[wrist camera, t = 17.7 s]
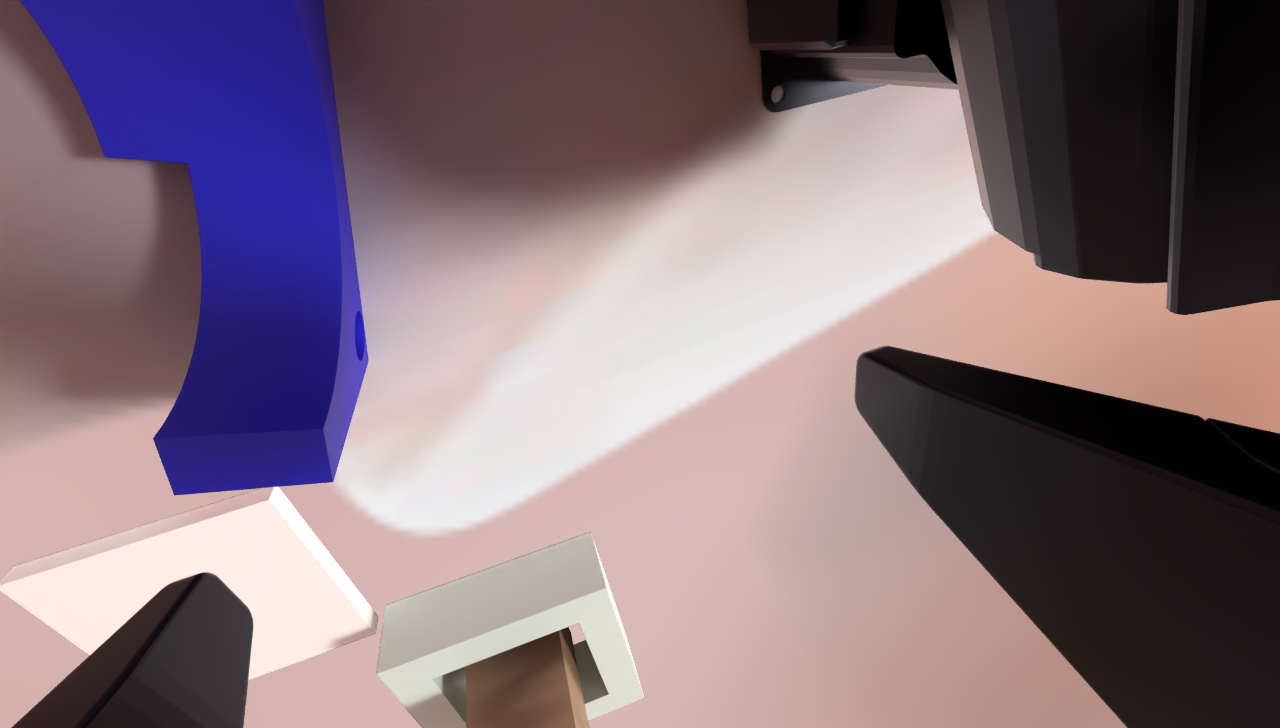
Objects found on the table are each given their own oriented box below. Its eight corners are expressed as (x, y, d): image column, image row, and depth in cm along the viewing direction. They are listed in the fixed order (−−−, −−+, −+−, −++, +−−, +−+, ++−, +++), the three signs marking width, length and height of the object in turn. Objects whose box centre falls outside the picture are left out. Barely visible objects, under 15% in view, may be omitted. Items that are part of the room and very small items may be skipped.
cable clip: (40, -186, 10) (-355, -411, 5) (308, -126, 12) (195, -259, 7) (201, 361, 16) (84, 502, 11) (369, 358, 17) (333, 481, 12)
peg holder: (590, 531, 24) (606, 587, 21) (627, 641, 29) (644, 697, 26) (385, 605, 22) (376, 674, 20) (461, 707, 27) (461, 773, 25)
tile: (275, 483, 18) (268, 499, 18) (378, 616, 23) (375, 633, 22) (13, 566, 17) (-5, 587, 16) (174, 689, 21) (165, 710, 21)
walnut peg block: (550, 585, 25) (579, 748, 19) (571, 633, 27) (601, 792, 21) (465, 616, 24) (467, 794, 18) (492, 662, 26) (502, 835, 20)
